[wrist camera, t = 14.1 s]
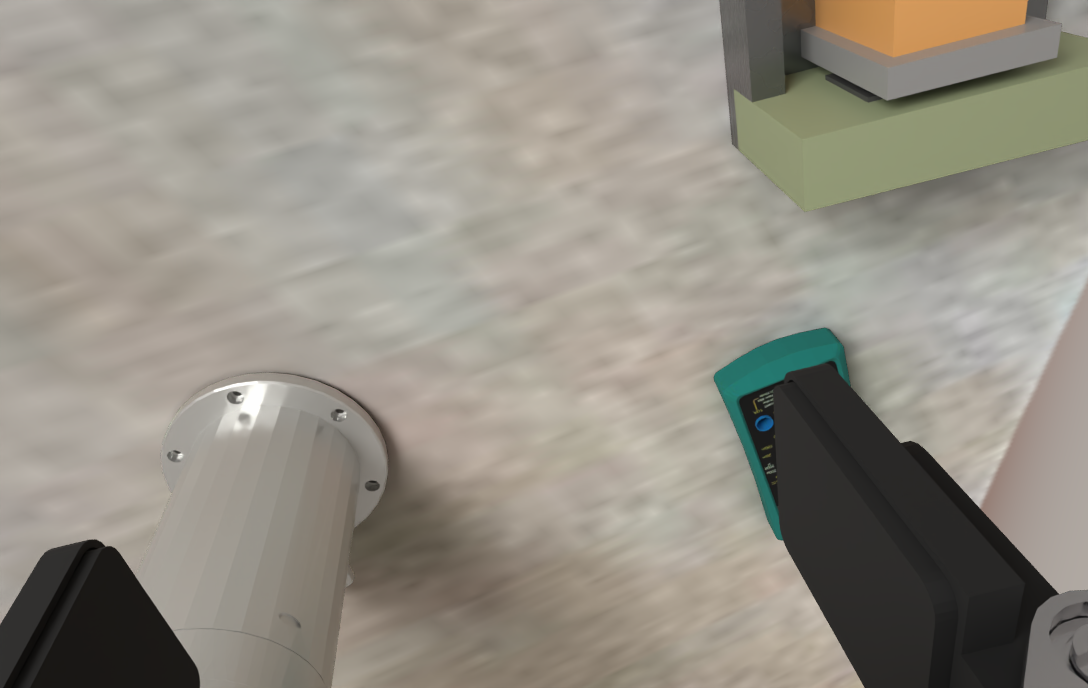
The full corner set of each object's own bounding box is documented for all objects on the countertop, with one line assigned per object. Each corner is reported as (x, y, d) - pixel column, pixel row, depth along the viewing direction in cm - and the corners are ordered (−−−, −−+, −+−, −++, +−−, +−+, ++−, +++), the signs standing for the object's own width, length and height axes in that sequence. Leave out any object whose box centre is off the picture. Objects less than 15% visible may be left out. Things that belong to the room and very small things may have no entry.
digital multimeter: (823, 313, 44) (845, 339, 42) (867, 481, 52) (888, 512, 50) (705, 361, 45) (720, 390, 43) (766, 519, 53) (782, 551, 50)
